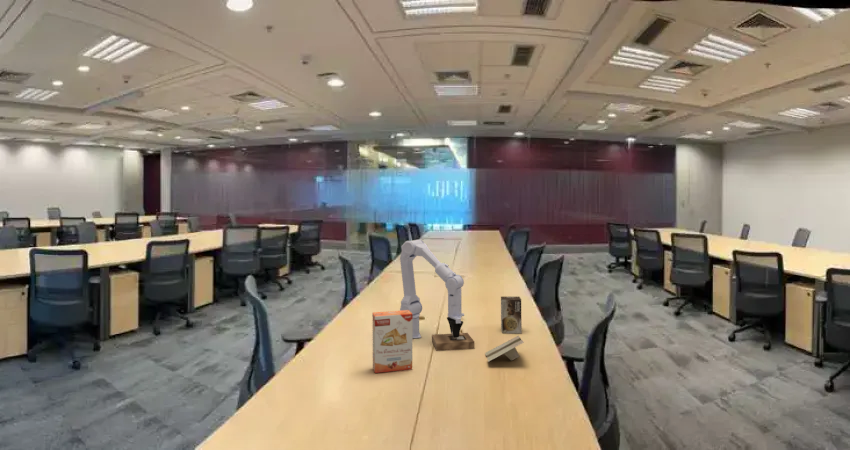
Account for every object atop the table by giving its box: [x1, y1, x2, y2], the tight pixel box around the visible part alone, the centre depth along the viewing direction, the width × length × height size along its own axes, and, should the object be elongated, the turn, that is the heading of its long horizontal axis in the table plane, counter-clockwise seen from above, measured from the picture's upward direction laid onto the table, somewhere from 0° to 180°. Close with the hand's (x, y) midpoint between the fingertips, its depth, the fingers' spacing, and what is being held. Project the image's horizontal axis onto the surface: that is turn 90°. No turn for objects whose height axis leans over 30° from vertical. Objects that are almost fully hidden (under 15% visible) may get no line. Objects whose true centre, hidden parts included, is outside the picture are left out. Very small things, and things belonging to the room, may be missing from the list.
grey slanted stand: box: [484, 335, 525, 363], centre depth 161 cm, size 16×9×15 cm
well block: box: [431, 332, 476, 352], centre depth 178 cm, size 16×12×3 cm
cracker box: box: [372, 310, 413, 374], centre depth 152 cm, size 14×6×21 cm, turn 105°
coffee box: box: [500, 296, 523, 334], centre depth 196 cm, size 9×6×16 cm
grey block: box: [450, 332, 465, 340], centre depth 179 cm, size 5×4×6 cm
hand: (454, 335), depth 178 cm, fingers closed on grey block, 4 cm apart
